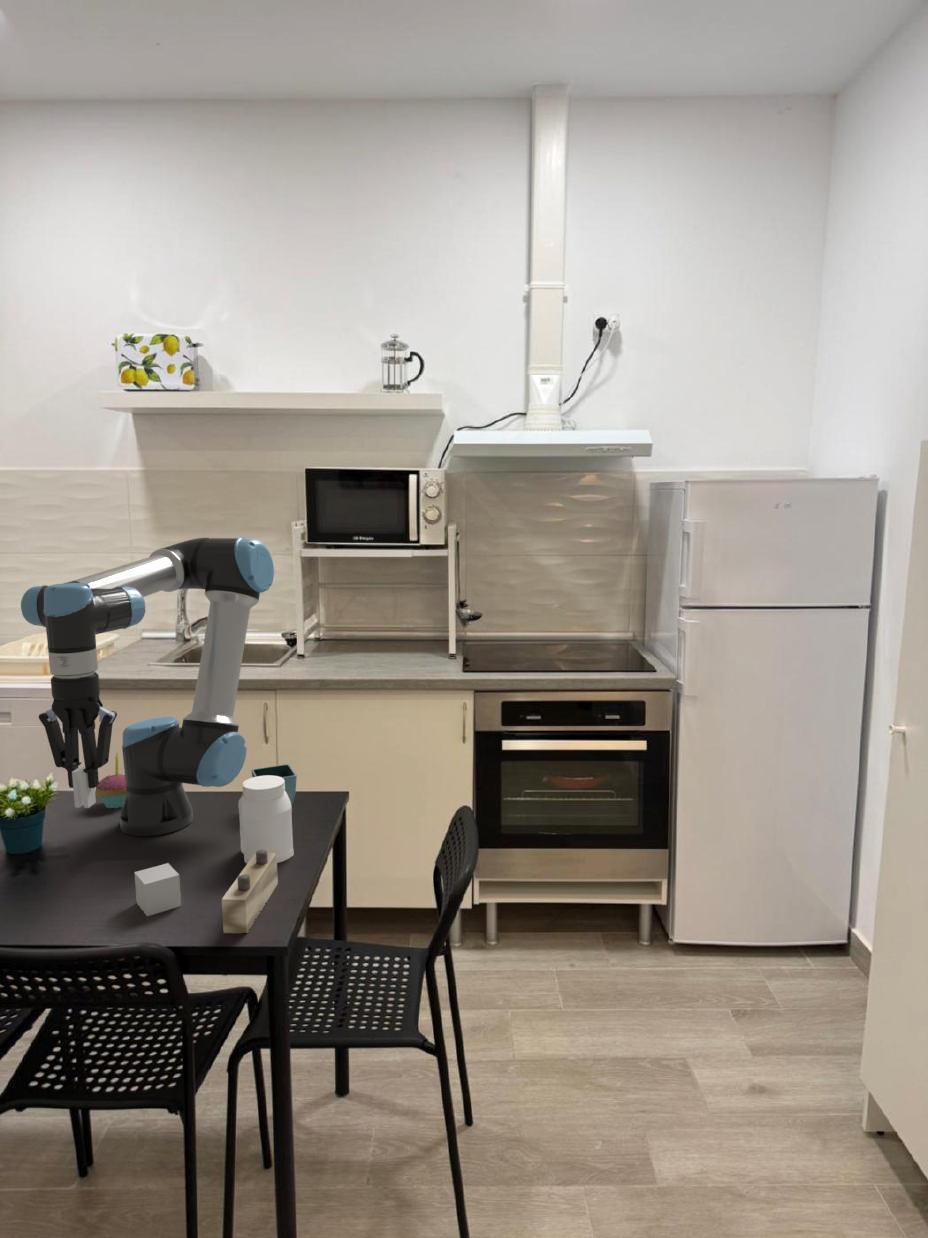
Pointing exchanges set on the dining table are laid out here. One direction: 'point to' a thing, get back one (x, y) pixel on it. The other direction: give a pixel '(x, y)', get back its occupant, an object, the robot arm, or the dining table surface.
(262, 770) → the flower pot
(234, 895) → the block
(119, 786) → the cupcake
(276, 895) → the dining table surface
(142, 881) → the white cube
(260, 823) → the jar
